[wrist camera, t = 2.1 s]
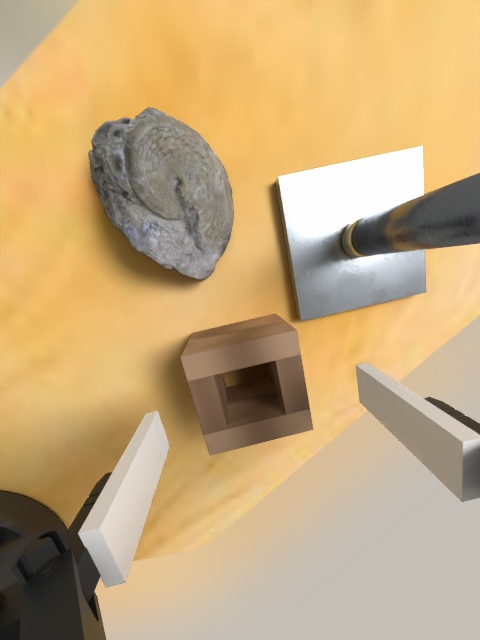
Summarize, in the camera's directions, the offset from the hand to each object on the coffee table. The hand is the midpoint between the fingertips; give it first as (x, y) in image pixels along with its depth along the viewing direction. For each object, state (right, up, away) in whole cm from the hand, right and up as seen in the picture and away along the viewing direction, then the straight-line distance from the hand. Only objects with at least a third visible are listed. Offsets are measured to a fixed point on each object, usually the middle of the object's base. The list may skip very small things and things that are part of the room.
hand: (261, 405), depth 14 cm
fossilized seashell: (-7, +15, +4) cm, 17 cm away
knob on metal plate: (+9, +13, +6) cm, 16 cm away
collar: (-1, +1, +7) cm, 7 cm away
